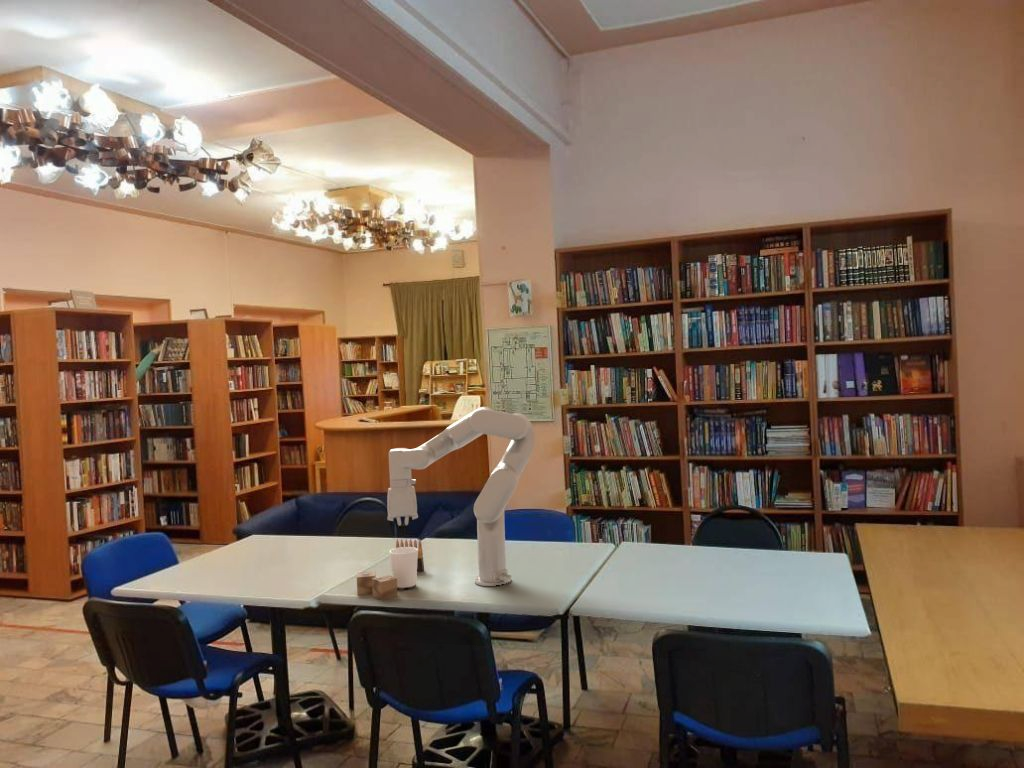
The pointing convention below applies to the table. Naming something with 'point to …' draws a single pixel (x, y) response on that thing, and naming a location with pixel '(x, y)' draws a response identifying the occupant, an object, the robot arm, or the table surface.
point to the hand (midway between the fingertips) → (403, 536)
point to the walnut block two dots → (384, 587)
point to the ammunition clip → (420, 554)
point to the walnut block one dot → (365, 582)
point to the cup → (404, 566)
